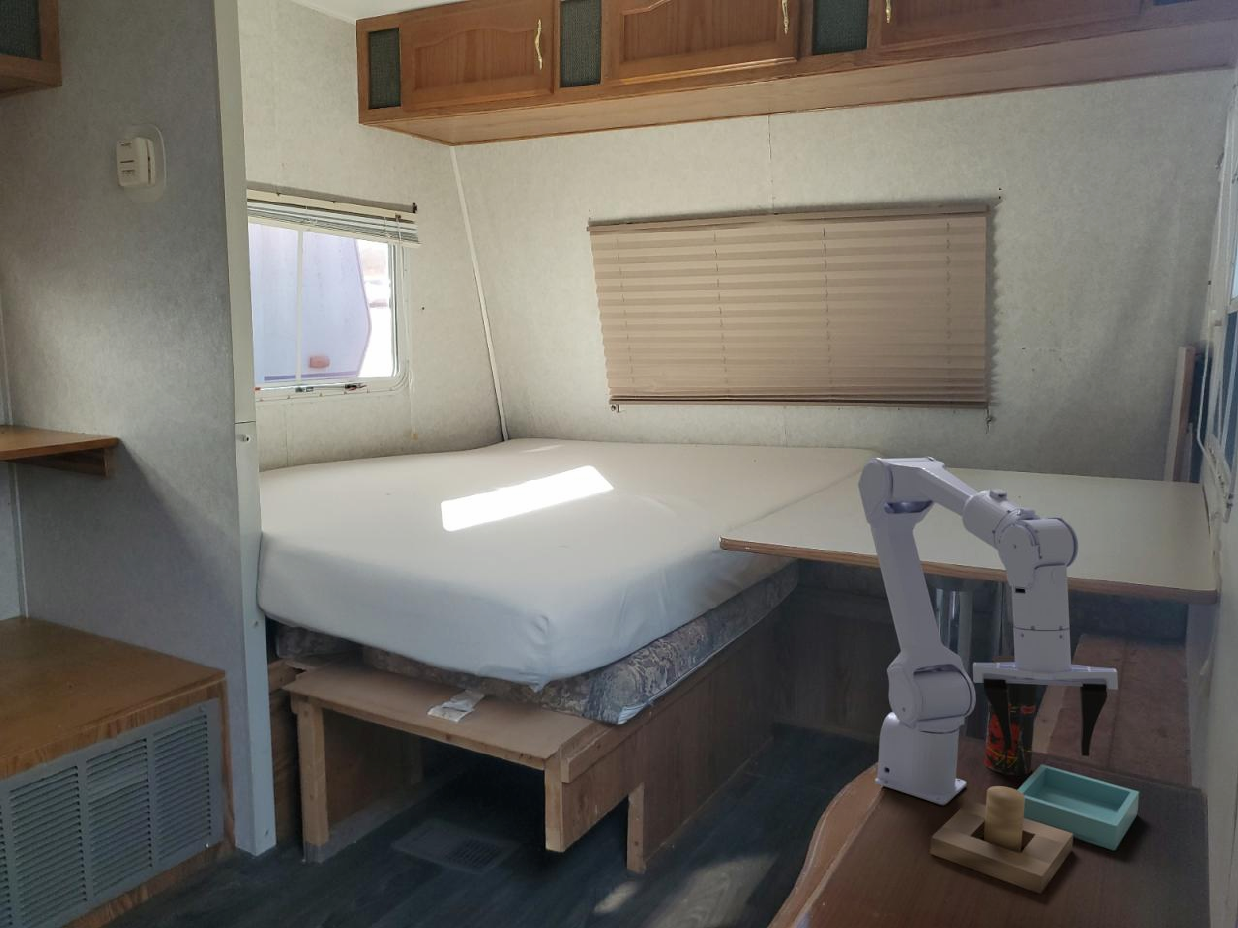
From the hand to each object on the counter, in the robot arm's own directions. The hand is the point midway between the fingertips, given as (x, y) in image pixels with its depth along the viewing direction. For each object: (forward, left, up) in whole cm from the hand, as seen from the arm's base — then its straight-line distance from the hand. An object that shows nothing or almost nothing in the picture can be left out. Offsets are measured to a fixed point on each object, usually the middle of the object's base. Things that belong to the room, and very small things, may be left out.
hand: (1046, 750), depth 104 cm
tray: (0, +15, -13) cm, 20 cm away
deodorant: (-11, +24, -14) cm, 30 cm away
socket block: (-4, 0, -13) cm, 14 cm away
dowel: (-4, 0, -13) cm, 14 cm away
